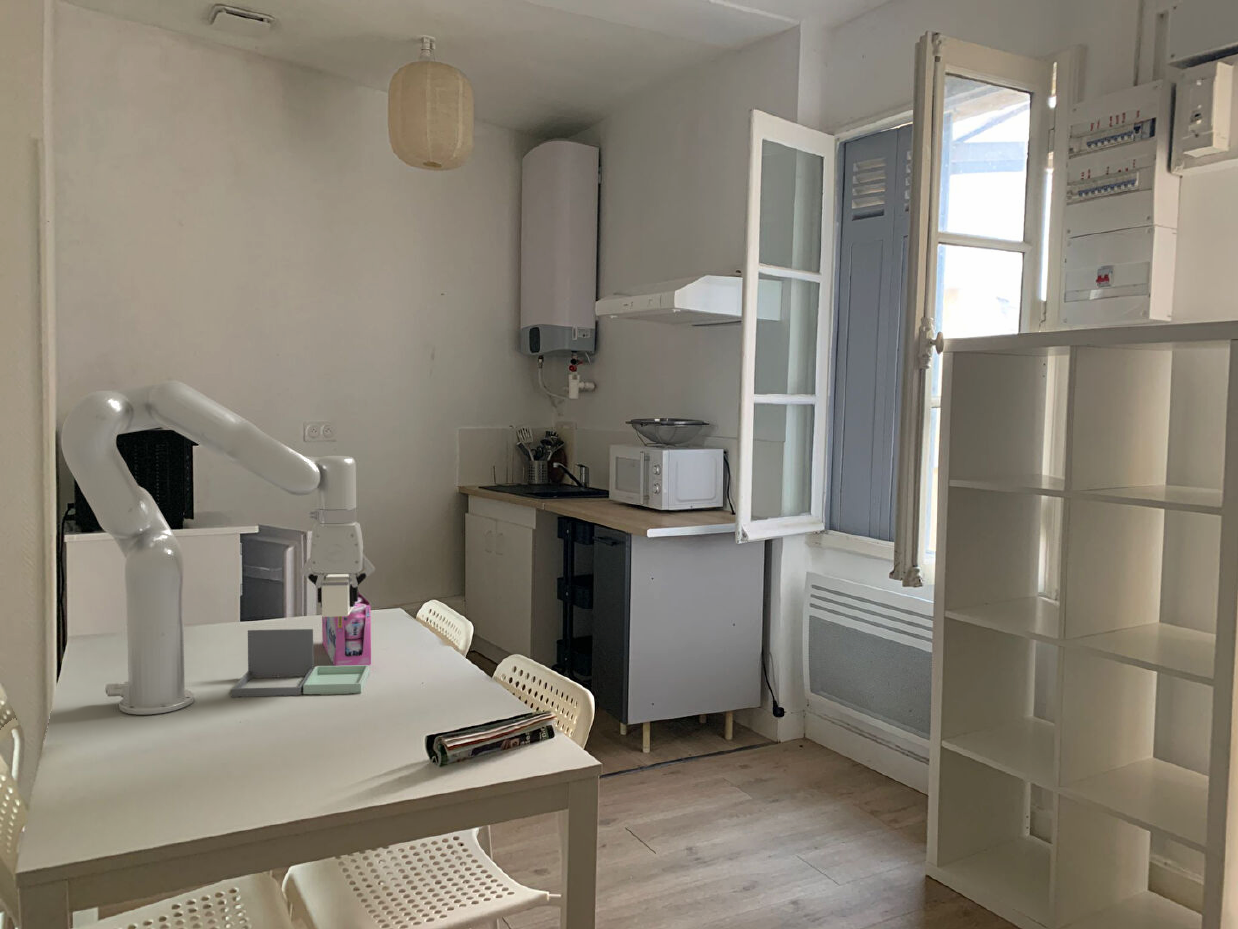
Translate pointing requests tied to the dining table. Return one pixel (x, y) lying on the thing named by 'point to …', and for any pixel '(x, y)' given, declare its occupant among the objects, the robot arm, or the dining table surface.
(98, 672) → the dining table surface
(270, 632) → the holder
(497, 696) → the dining table surface
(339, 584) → the cream upright block
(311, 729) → the dining table surface
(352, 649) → the gum box
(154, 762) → the dining table surface
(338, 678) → the tray
